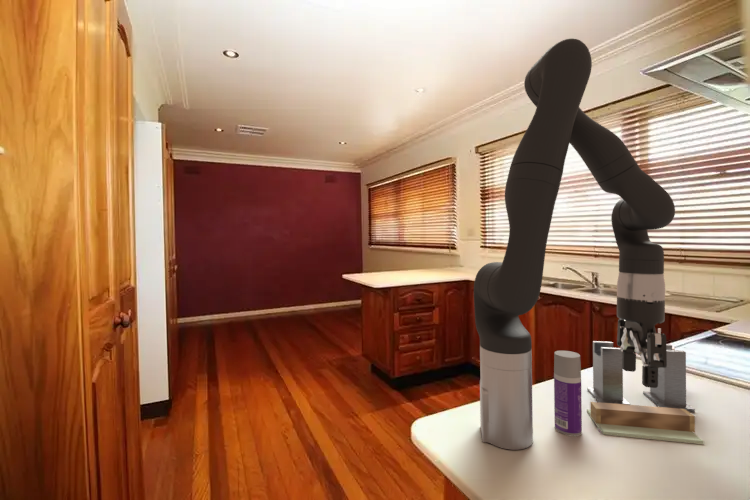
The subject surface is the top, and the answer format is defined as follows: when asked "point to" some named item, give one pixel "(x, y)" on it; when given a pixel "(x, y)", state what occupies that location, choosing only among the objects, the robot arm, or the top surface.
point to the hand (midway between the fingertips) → (638, 378)
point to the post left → (607, 374)
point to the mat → (648, 433)
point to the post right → (671, 382)
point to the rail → (643, 416)
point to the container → (567, 393)
